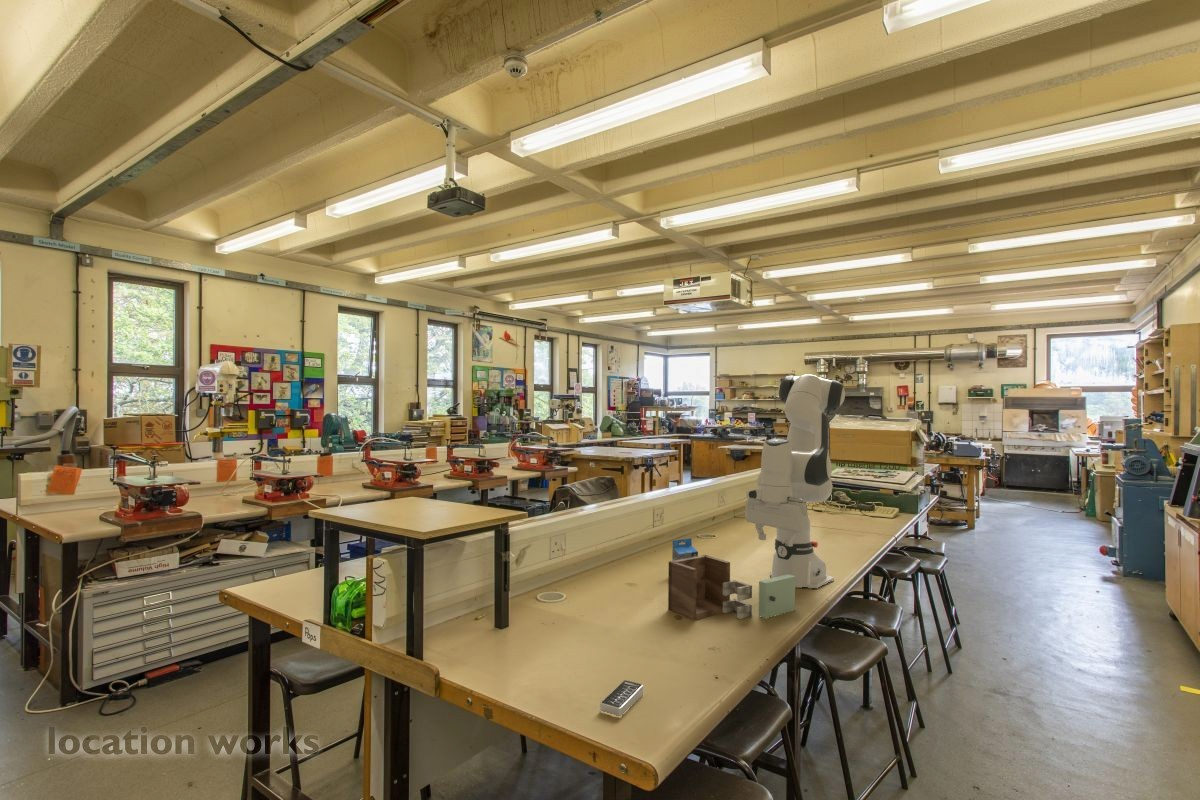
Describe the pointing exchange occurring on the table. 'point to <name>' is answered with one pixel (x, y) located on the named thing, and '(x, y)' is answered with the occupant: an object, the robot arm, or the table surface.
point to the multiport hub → (621, 698)
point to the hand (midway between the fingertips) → (775, 542)
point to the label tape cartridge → (683, 549)
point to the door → (776, 595)
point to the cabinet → (705, 588)
